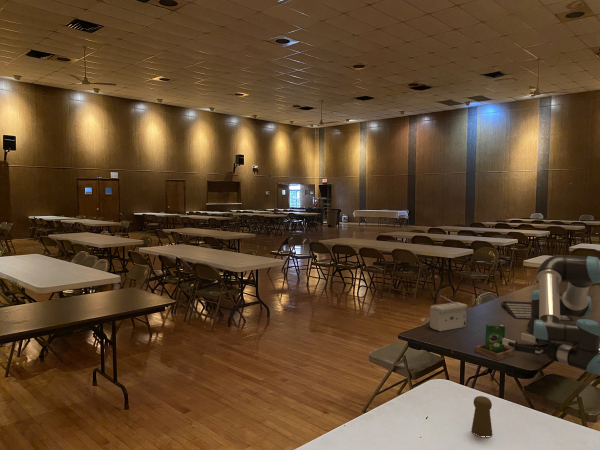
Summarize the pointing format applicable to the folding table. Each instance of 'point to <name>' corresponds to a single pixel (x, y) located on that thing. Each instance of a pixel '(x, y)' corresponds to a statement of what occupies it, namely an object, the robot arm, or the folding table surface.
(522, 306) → the shutter
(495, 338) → the coffee box
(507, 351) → the tray
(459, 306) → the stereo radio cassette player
